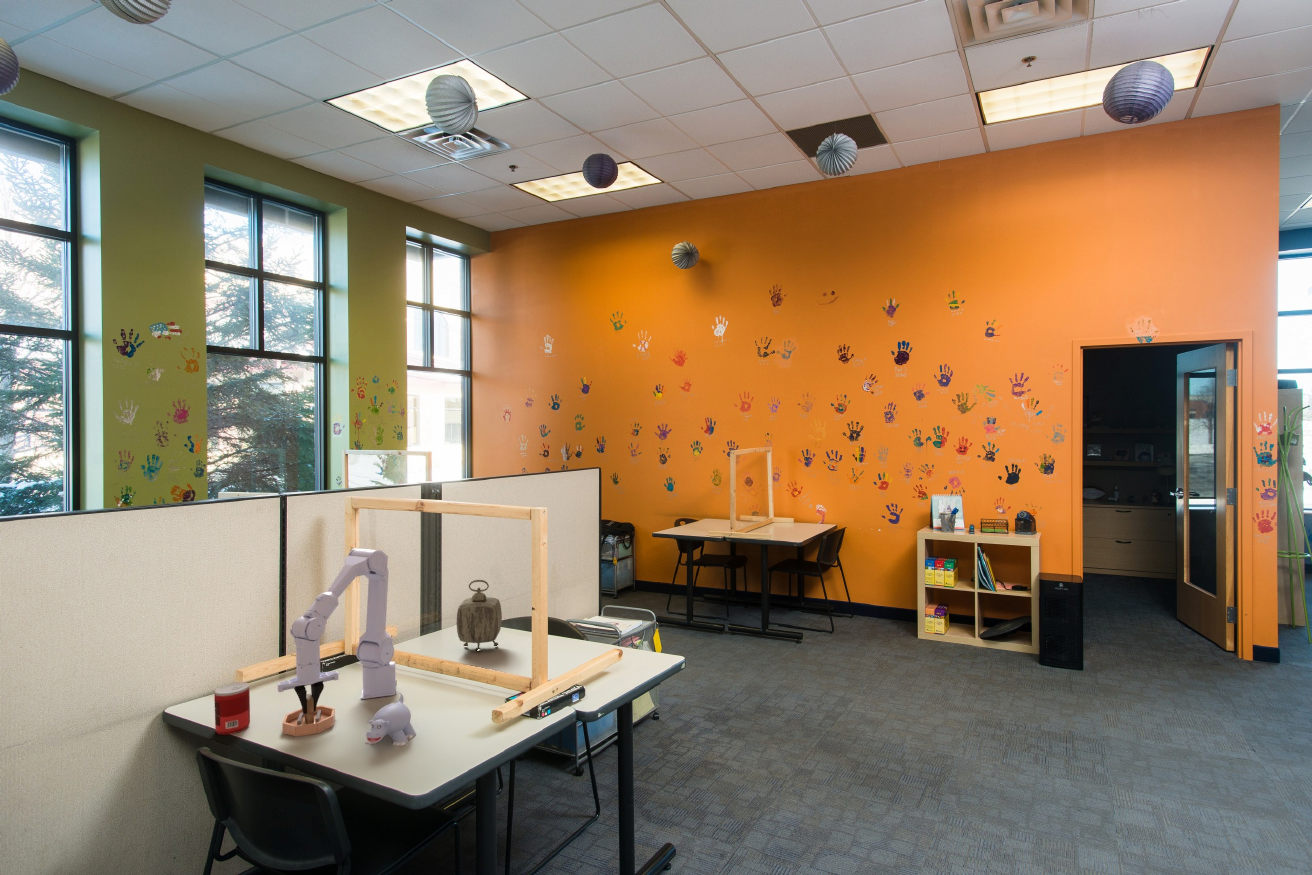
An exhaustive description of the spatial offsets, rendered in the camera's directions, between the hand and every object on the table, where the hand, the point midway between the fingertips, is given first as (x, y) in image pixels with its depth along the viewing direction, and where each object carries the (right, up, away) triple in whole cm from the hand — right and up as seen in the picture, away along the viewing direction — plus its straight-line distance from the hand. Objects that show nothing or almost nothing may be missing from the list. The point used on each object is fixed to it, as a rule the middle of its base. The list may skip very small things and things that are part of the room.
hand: (309, 711), depth 186 cm
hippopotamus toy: (+25, -4, -9) cm, 27 cm away
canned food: (-20, -4, -2) cm, 20 cm away
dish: (0, -4, 0) cm, 4 cm away
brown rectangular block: (0, -3, 0) cm, 3 cm away
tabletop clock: (+31, -2, +59) cm, 67 cm away
